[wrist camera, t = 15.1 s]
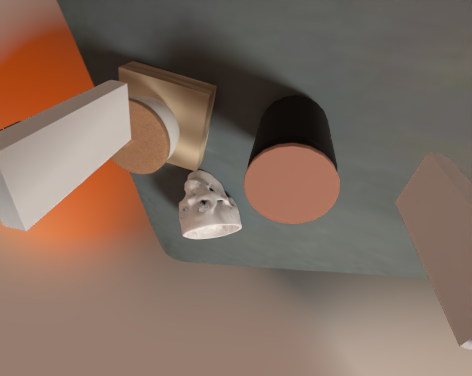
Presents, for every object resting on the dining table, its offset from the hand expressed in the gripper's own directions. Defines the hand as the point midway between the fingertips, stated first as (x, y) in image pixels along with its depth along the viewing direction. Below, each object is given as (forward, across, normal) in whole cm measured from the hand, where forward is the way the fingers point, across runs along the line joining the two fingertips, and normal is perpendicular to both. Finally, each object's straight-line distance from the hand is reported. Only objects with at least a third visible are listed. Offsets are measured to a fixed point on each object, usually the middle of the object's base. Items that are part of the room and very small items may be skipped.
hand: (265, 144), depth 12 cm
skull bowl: (+33, -7, -31) cm, 46 cm away
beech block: (+33, -17, -15) cm, 40 cm away
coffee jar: (+33, +4, -12) cm, 35 cm away
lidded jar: (+28, -17, -14) cm, 36 cm away
